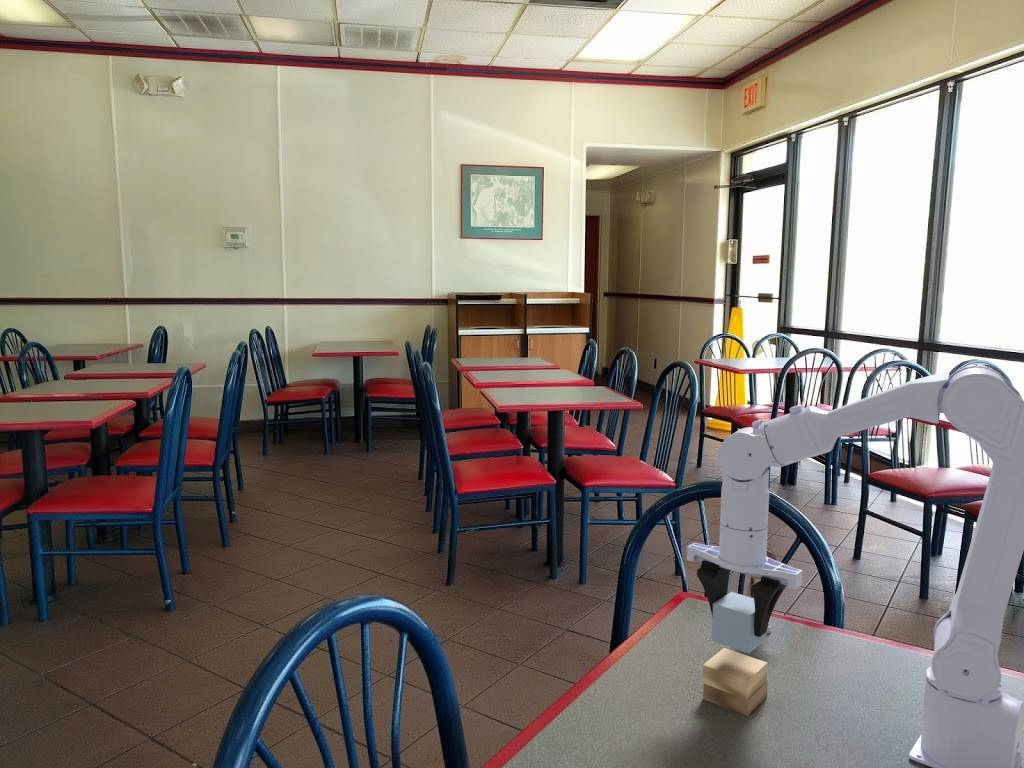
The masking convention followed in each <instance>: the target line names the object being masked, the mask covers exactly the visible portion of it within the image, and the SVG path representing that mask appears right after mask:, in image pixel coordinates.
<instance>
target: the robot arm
mask: <svg viewBox="0 0 1024 768" xmlns="http://www.w3.org/2000/svg"><path fill="white" fill-rule="evenodd" d="M788 410H789V413H787V414H784V415H781V416H778V417H775V418H772V419H770V420H766V421H764V422H763V421H762V419H758V420H755V421H753V422H751V426H749V427H743V428H739V429H738V430H736V431H735V432H734V433H732V434H731V435H729V436H728V437H726V438H725V439H724V440H723V441H722V443H721V444H720V446H719V448H718V450H717V462H718V464H719V467H720V468H721V470H722V483H721V484H722V485H721V489H720V490H721V492H720V495H721V496H720V513H719V514H720V516H719V519H720V520H719V542H718V544H719V545H718V546H717V545H708V544H702V543H697V542H693V543H691V544H689V545H687V547H686V561H688V562H693V563H695V562H699V563H701V565H700V567H699V568H698V569H697V570H696V577H697V578H698V580H699V582H700V583H701V586H702V587H703V590H704V593H705V595H706V597H707V600H708V601H707V602H708V604H709V609H710V612H711V619H713V603H715V602H716V601H718V600H719V599H721V598H722V597H724V596H726V595H727V594H728V592H727V591H728V585H729V579H730V574H731V571H733V572H737V573H739V574H744V575H746V576H750V575H751V576H754V577H758V578H761V581H758V582H757V583H755V584H754V585H752V591H753V596H754V604H755V620H754V635H755V636H757V637H761V636H762V635H763V634H765V633H766V631H767V627H768V623H770V619H771V617H772V613H773V612H774V611H773V610H774V609H775V606H776V604H777V602H778V600H779V599H780V597H781V595H782V593H783V592H784V590H785V589H786V587H787V588H788V589H790V590H794V591H795V590H797V589H799V588H800V587H802V585H803V573H804V571H803V570H802V569H800V568H796V567H793V566H790V565H788V564H785V563H783V562H780V561H778V560H777V559H776V560H777V561H776V560H773V559H771V558H769V557H766V553H767V551H768V549H767V548H768V531H769V529H768V527H769V525H768V524H769V506H770V505H769V504H770V488H769V484H770V483H769V481H770V479H769V478H770V469H768V468H770V467H773V468H774V467H775V468H782V467H784V466H788V465H791V464H794V463H797V462H801V461H804V460H806V459H810V458H814V457H817V456H820V455H824V454H827V453H829V452H831V451H832V450H833V449H834V447H835V444H836V442H837V440H838V438H840V437H843V436H847V435H850V434H854V433H858V432H861V431H864V430H867V429H871V428H874V427H878V426H879V427H880V426H882V425H885V424H888V423H889V424H890V423H892V422H896V421H900V420H903V419H907V418H913V419H915V420H920V421H925V422H928V423H932V424H939V422H940V417H941V414H943V415H944V417H945V419H946V420H947V421H948V422H949V423H950V424H951V426H952V427H954V428H955V429H956V430H958V431H960V432H961V433H962V434H964V435H966V436H968V437H969V438H970V439H972V440H974V441H975V442H977V443H978V445H979V446H980V447H981V449H982V451H984V453H985V454H986V455H987V456H988V457H989V459H990V461H992V463H993V464H992V467H991V471H990V473H989V477H988V481H987V485H986V488H985V492H984V495H983V498H982V499H983V500H982V502H981V506H980V509H979V514H978V516H977V520H976V522H975V527H974V530H973V534H972V538H971V541H970V544H969V549H968V552H967V555H966V559H965V562H964V566H963V568H962V569H963V570H962V573H961V575H960V580H959V583H958V585H957V586H958V587H957V591H956V592H955V594H954V596H953V598H952V600H951V604H950V606H949V609H948V611H947V612H946V613H945V614H944V615H942V616H941V617H940V618H938V620H937V621H936V624H935V625H934V628H933V641H934V647H933V656H932V659H931V665H930V666H928V668H927V669H926V671H925V683H924V684H925V685H924V693H923V695H924V696H923V709H922V722H921V731H920V733H921V734H920V735H919V737H918V738H917V740H916V742H915V743H914V745H913V746H912V748H911V750H910V752H909V753H908V757H909V759H910V760H912V761H915V762H917V763H919V764H922V765H925V766H928V767H929V768H930V767H931V768H1021V766H1022V758H1023V754H1022V752H1021V751H1022V742H1023V741H1022V740H1023V732H1024V702H1023V701H1022V700H1019V699H1017V698H1015V697H1013V696H1011V695H1009V694H1008V693H1006V692H1004V691H1003V689H1002V685H1001V681H1002V671H1001V667H1000V664H999V657H998V655H999V654H998V653H999V650H1000V645H1001V641H1002V635H1003V634H1002V633H1003V626H1004V618H1005V614H1006V609H1007V607H1008V603H1009V600H1010V597H1011V593H1012V590H1013V587H1014V583H1015V580H1016V577H1017V574H1018V570H1019V567H1020V564H1021V560H1022V556H1023V554H1024V398H1023V397H1022V395H1021V393H1020V391H1018V390H1017V389H1016V388H1015V386H1013V384H1012V383H1010V382H1009V381H1008V380H1007V379H1006V378H1005V377H1004V376H1003V375H1002V374H1001V373H1000V372H999V371H997V370H995V369H993V368H991V367H988V366H985V365H969V366H968V365H967V366H964V367H962V368H960V369H957V370H956V371H954V372H953V373H952V374H951V375H950V372H949V371H945V372H941V373H940V372H939V373H936V374H931V375H927V376H924V377H920V378H917V379H913V380H909V381H907V382H903V383H901V384H899V385H896V386H894V387H890V388H887V389H885V390H883V391H880V392H877V393H874V394H873V395H872V394H871V395H870V396H866V397H863V398H862V399H859V400H856V401H854V402H851V403H848V404H846V405H842V406H840V407H838V408H834V409H832V410H826V409H825V410H824V409H822V408H819V407H817V406H814V405H809V406H807V407H803V405H802V404H797V405H794V406H791V407H790V408H789V409H788Z"/></svg>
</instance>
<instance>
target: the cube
mask: <svg viewBox="0 0 1024 768" xmlns="http://www.w3.org/2000/svg"><path fill="white" fill-rule="evenodd" d="M754 620H755V604H754V598H751V597H747V596H745V594H744V595H743V594H741V593H737V592H734V591H730V592H729V593H727V595H726V596H724V597H722V598H721V599H719V600H718V601H716V602H715V603H713V618H712V623H711V632H712V633H711V641H712V642H715V643H717V644H720V645H724V646H726V647H728V648H731V649H734V650H738V651H741V652H743V653H746V654H750V653H752V651H754V650H755V649H756V648H758V647H759V646H760V645H762V644H763V643H764V642H766V640H767V635H768V633H767V631H766V633H765V634H763V635H762V636H761V637H757V636H755V635H754Z"/></svg>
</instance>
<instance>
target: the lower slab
mask: <svg viewBox="0 0 1024 768" xmlns="http://www.w3.org/2000/svg"><path fill="white" fill-rule="evenodd" d="M702 684H703V687H702V700H705V701H707V702H710V703H712V704H715V705H718V706H721V707H722V708H725V709H727V710H731V711H732V712H735V713H739V714H741V715H743V716H746V717H749V716H750V715H751V713H752V712H753V711H754V710H755V709H757V707H759V705H760V704H762V702H763V701H764V700H765V699H766V698H767V697H768V684H769V683H768V680H767V681H766V682H765V683H764V684H763V685H762V686H761V687H760V688H759V689H758V690H757V691H756V692H755V693H754V694H753V695H752V696H751V697H750V698H749V699H748V700H746V699H743V698H741V697H738V696H735V695H733V694H730V693H727V692H725V691H722V690H720V689H717V688H714V687H712V686H709V685H706V684H704V683H702Z"/></svg>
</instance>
